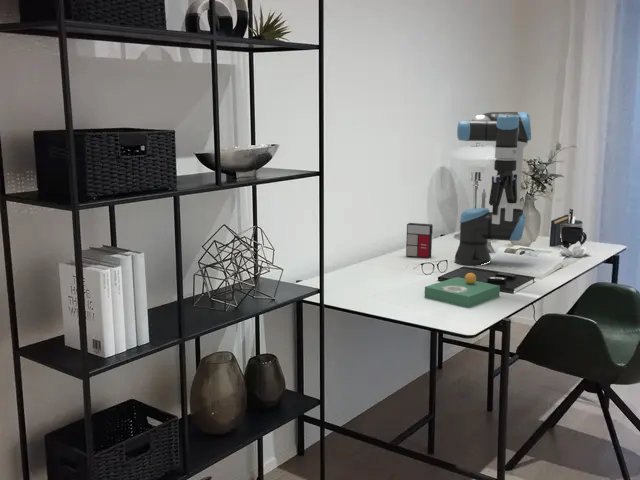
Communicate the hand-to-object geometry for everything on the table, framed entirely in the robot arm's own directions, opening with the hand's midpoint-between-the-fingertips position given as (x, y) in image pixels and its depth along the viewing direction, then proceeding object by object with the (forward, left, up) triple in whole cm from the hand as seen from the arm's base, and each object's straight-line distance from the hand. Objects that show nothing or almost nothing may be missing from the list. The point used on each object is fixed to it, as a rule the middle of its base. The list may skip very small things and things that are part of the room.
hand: (502, 222), depth 240 cm
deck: (-4, -18, -25) cm, 31 cm away
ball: (-4, -13, -19) cm, 24 cm away
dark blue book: (-19, +90, -26) cm, 95 cm away
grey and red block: (-55, +25, -26) cm, 66 cm away
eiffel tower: (-40, +53, -26) cm, 71 cm away
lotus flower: (-2, +68, -26) cm, 73 cm away
